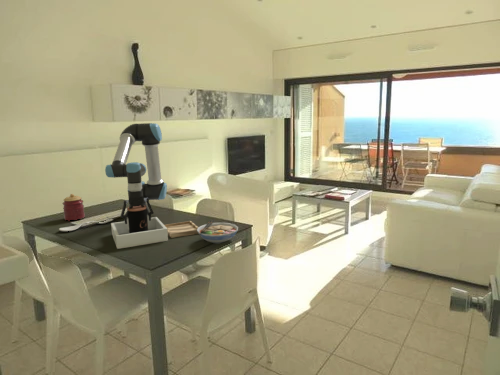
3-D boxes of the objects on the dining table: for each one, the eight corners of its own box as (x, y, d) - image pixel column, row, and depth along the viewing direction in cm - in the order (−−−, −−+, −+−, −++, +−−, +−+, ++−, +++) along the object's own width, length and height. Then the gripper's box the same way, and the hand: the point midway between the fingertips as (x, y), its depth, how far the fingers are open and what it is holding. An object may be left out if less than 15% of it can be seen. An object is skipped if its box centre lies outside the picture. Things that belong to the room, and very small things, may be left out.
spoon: (113, 223, 241) (113, 218, 240) (62, 234, 219) (61, 229, 218) (108, 220, 247) (107, 215, 246) (57, 231, 225) (56, 226, 225)
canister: (83, 215, 261) (81, 191, 258) (86, 219, 250) (83, 194, 247) (63, 218, 254) (60, 193, 251) (65, 222, 244) (62, 196, 240)
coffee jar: (143, 241, 204) (140, 210, 201) (125, 240, 207) (123, 209, 203) (151, 234, 215) (149, 205, 211) (135, 234, 217) (132, 204, 213)
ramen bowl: (233, 250, 188) (232, 235, 186) (191, 248, 192) (190, 233, 190) (242, 234, 212) (242, 221, 211) (204, 233, 216) (204, 220, 215)
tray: (162, 228, 226) (162, 224, 226) (191, 224, 234) (190, 220, 233) (170, 238, 209) (170, 234, 208) (200, 233, 216) (200, 229, 216)
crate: (112, 234, 217) (111, 223, 215) (157, 227, 228) (156, 217, 227) (117, 248, 193) (116, 236, 192) (167, 240, 204) (167, 228, 203)
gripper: (114, 193, 197) (118, 232, 201) (157, 189, 207) (160, 226, 211) (112, 191, 204) (116, 228, 208) (154, 186, 213) (157, 223, 218)
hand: (138, 227), depth 210 cm, fingers closed on coffee jar, 11 cm apart
